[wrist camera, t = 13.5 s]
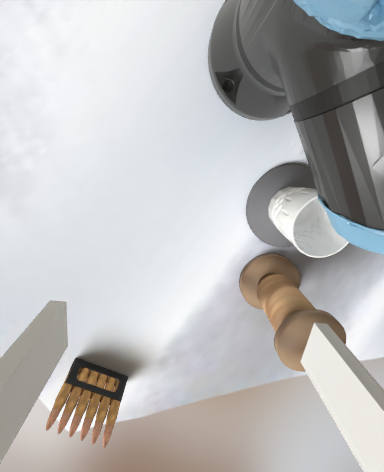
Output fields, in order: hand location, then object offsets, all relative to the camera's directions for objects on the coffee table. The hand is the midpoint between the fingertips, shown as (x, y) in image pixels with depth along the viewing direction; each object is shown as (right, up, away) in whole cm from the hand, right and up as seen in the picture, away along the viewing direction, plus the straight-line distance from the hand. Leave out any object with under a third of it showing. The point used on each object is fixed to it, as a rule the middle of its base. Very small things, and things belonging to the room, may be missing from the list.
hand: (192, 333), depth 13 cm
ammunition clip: (-18, -21, +35) cm, 44 cm away
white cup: (+15, +10, +25) cm, 31 cm away
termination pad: (+15, +10, +26) cm, 31 cm away
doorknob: (+13, -2, +30) cm, 33 cm away
